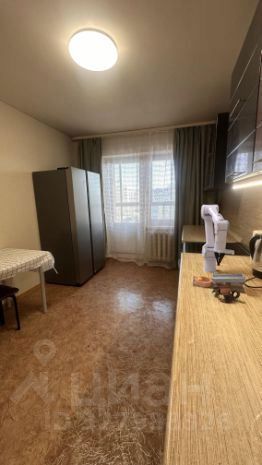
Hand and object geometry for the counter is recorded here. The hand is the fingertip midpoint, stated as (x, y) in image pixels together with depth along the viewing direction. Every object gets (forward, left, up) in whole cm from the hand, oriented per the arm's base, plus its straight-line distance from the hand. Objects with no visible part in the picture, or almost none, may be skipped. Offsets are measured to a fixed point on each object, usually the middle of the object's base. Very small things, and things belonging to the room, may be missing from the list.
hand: (218, 265), depth 114 cm
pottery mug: (+21, +2, -10) cm, 23 cm away
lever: (+4, +5, -6) cm, 9 cm away
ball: (+8, -10, -7) cm, 14 cm away
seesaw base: (+6, 0, -10) cm, 11 cm away
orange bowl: (+8, -8, -9) cm, 14 cm away
